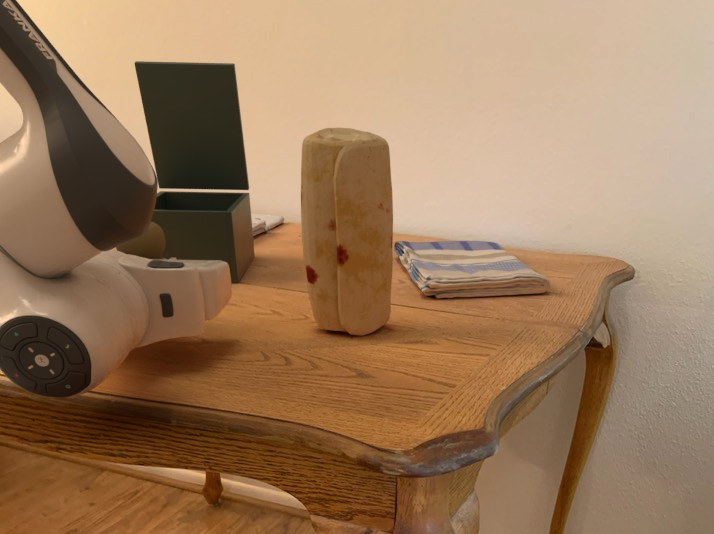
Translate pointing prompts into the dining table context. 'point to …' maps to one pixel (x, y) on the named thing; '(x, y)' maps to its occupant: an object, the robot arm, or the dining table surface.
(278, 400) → the dining table surface
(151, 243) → the cork
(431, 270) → the dish towel
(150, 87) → the bin lid
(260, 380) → the dining table surface
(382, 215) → the food model
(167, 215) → the bin
